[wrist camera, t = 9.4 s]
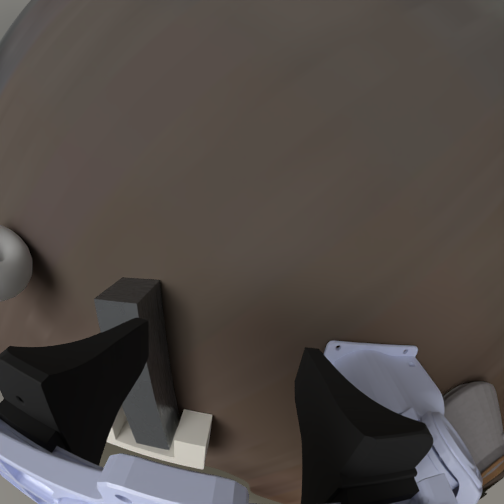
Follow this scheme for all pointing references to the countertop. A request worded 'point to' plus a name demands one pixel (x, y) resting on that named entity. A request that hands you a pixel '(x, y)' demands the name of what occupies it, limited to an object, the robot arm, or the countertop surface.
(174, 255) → the countertop surface
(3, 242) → the donut
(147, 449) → the cream u-shaped cradle
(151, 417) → the rail
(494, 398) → the coffee pot
